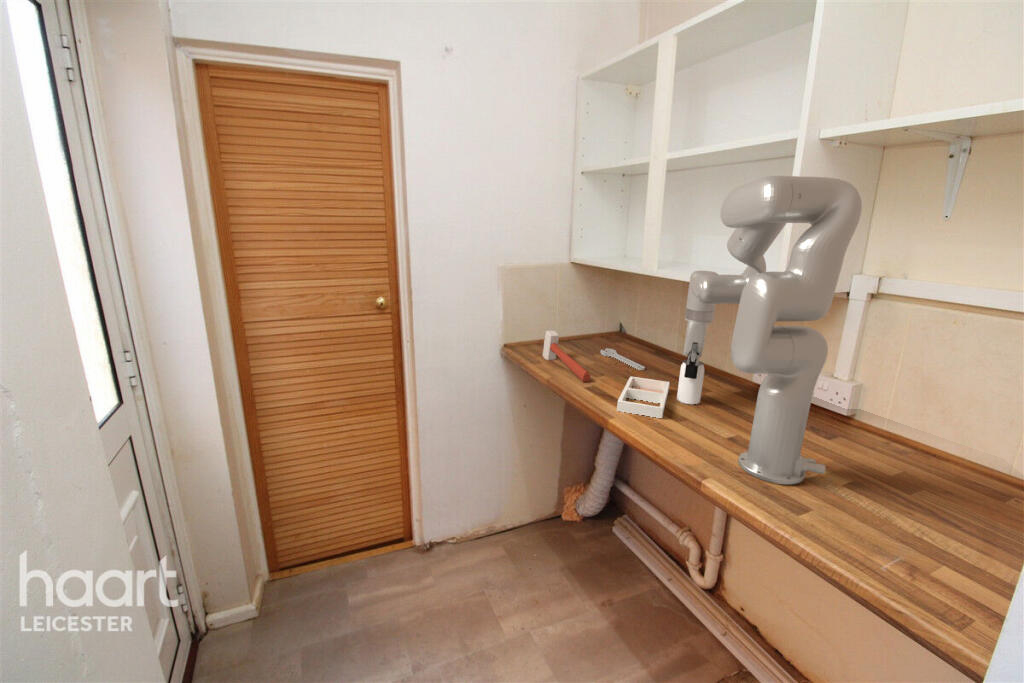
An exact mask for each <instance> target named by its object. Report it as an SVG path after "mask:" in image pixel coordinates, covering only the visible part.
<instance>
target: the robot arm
mask: <svg viewBox="0 0 1024 683" xmlns="http://www.w3.org/2000/svg"><path fill="white" fill-rule="evenodd" d="M862 204H863V202H862V197H861V195H860V191H858V188H856V187H855V185H853V184H852V183H851V182H848V181H846V180H843V179H839V178H834V177H833V178H832V177H825V176H824V177H822V176H794V175H792V176H791V175H770V176H765V177H762V178H759V179H757V180H756V179H755V180H753V181H751V182H747V183H745V184H742V185H740V186H737V187H736V188H734V189H733V190H731V191H730V192H729V193H728V194H727V196H726V197H725V198H724V199H723V202H722V205H721V208H720V219H721V222H722V224H723V225H725V226H726V227H727V228H729V229H730V228H731V229H734V231H733V232H732V234H731V235H730V236H729V238H728V241H727V242H726V248H727V251H728V252H729V254H730V255H731V256H732V257H733V258H734V259H736V260H737V261H739V262H740V263H743V264H744V265H746V268H745V269H744V270H743V271H742V273H741V274H719V273H718V272H715V271H711V270H695V271H693V272H691V274H690V279H689V284H688V290H687V291H688V292H687V299H686V307H685V314H684V320H685V321H687V326H686V331H685V337H684V345H683V356H687V358H686V360H688V361H687V364H686V368H685V375H684V377H685V378H692V379H696V378H697V371H698V361H700V358H702V354H703V350H704V347H705V343H706V337H707V331H708V326H709V324H713V323H714V319H715V318H714V317H715V311H716V305H718V304H719V305H720V304H726V305H727V304H728V305H729V304H734V305H735V304H736V305H737V304H738V307H737V314H736V318H735V323H734V328H733V332H732V333H733V334H732V338H731V343H730V344H731V345H730V357H731V361H732V364H733V366H735V368H736V369H738V371H740V372H742V373H746V374H752V375H754V374H756V375H757V374H758V375H762V374H763V375H765V374H766V375H765V377H764V378H763V380H762V381H761V383H760V385H759V386H760V387H759V389H758V392H757V398H756V403H755V404H756V405H755V409H754V413H753V414H754V415H753V421H752V427H751V433H750V438H749V442H748V449H747V451H744V452H742V453H740V454H739V456H738V460H737V462H738V465H739V466H740V468H741V469H742V470H743V471H745V472H746V473H747V474H749V475H750V476H752V477H755V478H757V479H759V480H762V481H765V482H767V483H772V484H777V485H788V486H789V485H796V484H799V483H800V484H801V483H802V482H803V481H804V480H805V478H806V477H805V476H806V473H807V472H813V473H815V474H820V475H825V472H826V465H825V464H822V463H817V462H816V459H815V458H809V457H807V458H806V457H804V456H803V455H802V454H801V452H802V447H803V443H804V438H805V432H806V428H807V424H808V423H807V422H808V418H809V413H810V408H811V403H812V399H813V396H814V395H813V394H814V392H815V387H816V384H817V382H818V379H819V377H820V374H821V372H822V370H823V369H824V365H825V363H826V361H827V358H828V354H829V345H828V342H827V340H826V338H825V336H824V335H823V334H822V333H821V332H819V331H818V330H817V329H815V328H812V327H808V326H801V325H775V324H776V323H777V322H812V321H813V322H814V321H818V320H821V319H823V318H824V317H825V316H827V314H828V312H829V310H830V309H831V305H832V303H833V299H834V297H835V293H836V288H837V285H838V281H839V277H840V274H841V271H842V268H843V264H844V263H843V262H844V259H845V256H846V252H847V250H848V247H849V245H850V242H851V241H852V238H853V236H854V234H855V232H856V230H857V227H858V225H859V222H860V220H861V216H862V210H863V205H862ZM787 224H810V225H811V226H809V227H808V228H807V229H806V230H805V231H804V232H803V233H801V235H800V236H799V238H798V239H797V240H796V242H795V243H794V244H793V246H792V249H791V252H790V256H789V262H788V264H787V268H786V270H784V271H767V262H766V258H765V257H764V255H765V254H766V252H767V251H768V250H769V248H770V247H771V246H772V244H773V243H774V241H775V240H776V239H777V237H778V235H780V233H781V232H782V230H783V229H784V227H785V226H786V225H787ZM689 361H690V362H689ZM695 364H696V365H695Z"/></svg>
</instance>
